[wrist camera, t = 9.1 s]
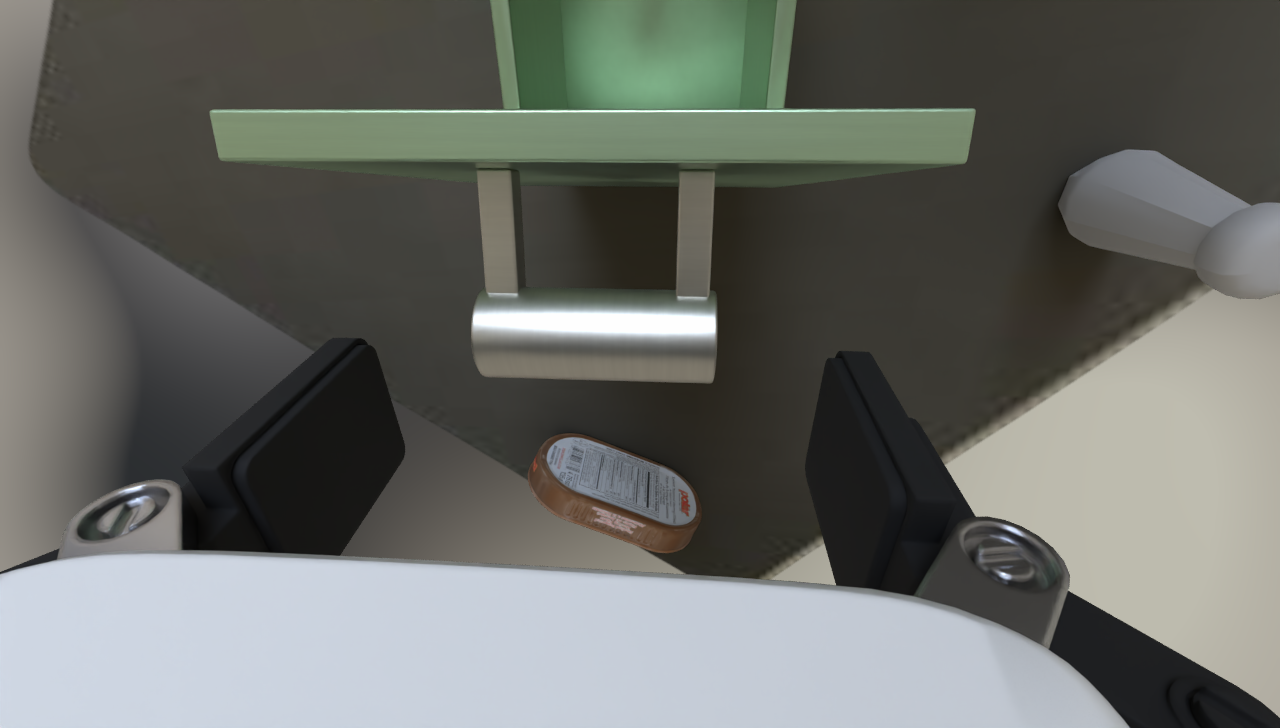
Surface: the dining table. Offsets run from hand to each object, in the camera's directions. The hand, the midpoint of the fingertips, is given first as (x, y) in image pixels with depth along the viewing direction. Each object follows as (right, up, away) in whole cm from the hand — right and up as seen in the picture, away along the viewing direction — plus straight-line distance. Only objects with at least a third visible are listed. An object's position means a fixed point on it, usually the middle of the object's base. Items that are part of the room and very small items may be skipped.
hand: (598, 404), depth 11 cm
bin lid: (0, +7, +5) cm, 9 cm away
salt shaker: (+30, +12, +23) cm, 40 cm away
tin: (-1, -7, +38) cm, 38 cm away
